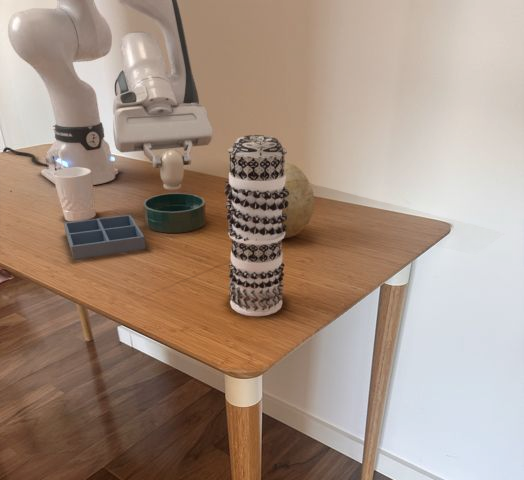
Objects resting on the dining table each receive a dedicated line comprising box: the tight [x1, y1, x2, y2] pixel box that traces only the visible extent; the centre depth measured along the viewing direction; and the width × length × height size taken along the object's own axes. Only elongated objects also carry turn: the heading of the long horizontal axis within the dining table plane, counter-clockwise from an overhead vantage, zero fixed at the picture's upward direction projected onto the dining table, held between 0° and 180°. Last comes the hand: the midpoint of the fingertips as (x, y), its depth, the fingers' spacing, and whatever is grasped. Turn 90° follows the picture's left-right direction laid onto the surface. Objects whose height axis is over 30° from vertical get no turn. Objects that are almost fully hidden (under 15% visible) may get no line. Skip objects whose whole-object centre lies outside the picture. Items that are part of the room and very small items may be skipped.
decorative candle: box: [223, 134, 289, 317], centre depth 74 cm, size 9×9×25 cm
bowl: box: [143, 192, 207, 234], centre depth 108 cm, size 13×13×5 cm
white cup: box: [52, 167, 97, 222], centre depth 110 cm, size 8×8×10 cm
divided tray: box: [63, 214, 147, 261], centre depth 100 cm, size 14×14×3 cm
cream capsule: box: [159, 148, 185, 191], centre depth 103 cm, size 5×5×8 cm
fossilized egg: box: [282, 161, 315, 239], centre depth 101 cm, size 13×13×15 cm
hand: (172, 164), depth 102 cm, fingers closed on cream capsule, 5 cm apart
